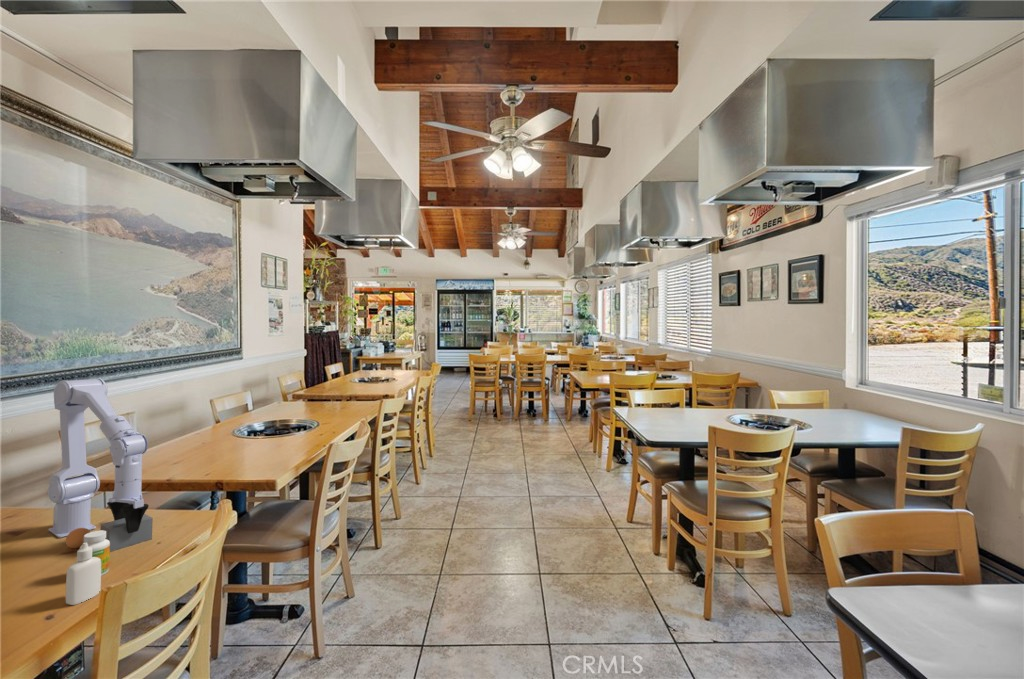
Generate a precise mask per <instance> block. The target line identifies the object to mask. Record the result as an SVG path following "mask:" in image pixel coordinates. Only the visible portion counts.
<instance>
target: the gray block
mask: <svg viewBox="0 0 1024 679" xmlns="http://www.w3.org/2000/svg"><path fill="white" fill-rule="evenodd" d="M153 522H154V521H153V517H151V516H150V515H148V514H146V513H144V515H143V517H142V520H141V523H140V527H139V530H138V531H136V532H133V533H128V532H127V527H126V521H125V518H123V519H119V520H115V521H114V520H111V521H107V522H104V523H100V529H99V531H100V530H104V531H106V538H105V539H107V540H109V541H110V553H111V552H114V551H117V550H121V549H124V548H128V547H130V546H134V545H137V544H141V543H144V542H147V541H150V540H152V539H153Z"/></svg>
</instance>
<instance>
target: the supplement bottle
mask: <svg viewBox="0 0 1024 679" xmlns="http://www.w3.org/2000/svg"><path fill="white" fill-rule="evenodd" d="M105 538H106V531H104V530H100V529H99V530H93V531H90V533H87V534H85V535H84V543H86V542H87V544H88V547H92V557H98V558H100V559H101V577H102V576H104V575H106V574H107V573H108V572H109V571H110V556H111V555H110V553H111V552H110V541H109V540H107V539H105ZM81 548H82V545H81V547H80V548H79V549H81Z"/></svg>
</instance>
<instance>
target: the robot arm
mask: <svg viewBox="0 0 1024 679" xmlns="http://www.w3.org/2000/svg"><path fill="white" fill-rule="evenodd" d="M108 390H109V389H108V386H107V383H106V382H105V380H103V379H102V378H100V377H98V378H93V379H75V380H74V379H73V380H67V379H66V380H64V379H63V380H60V381H59V382H58V383H57V384H56V385H55V387H54V388H53V404H54V409H55V410H58V411H59V423H60V424H59V425H60V426H59V427H60V443H61V444H60V446H61V448H60V449H61V464H62V465H61V466H62V467H60V468H59V470H57V471H56V472H54V473H53V474H52V475H51V476H50V477H49V483H48V484H49V485H48V488H47V497H48V499H49V500H50V501H51V502H53V504H55V505H54V507H53V517H52V518H53V519H52V520H53V522H52V523H53V524H52V527H49V528H48V531H49V532H50V533H52V534H53V535H54V536H56V537H58V538H64V537H65V538H66V537H67V536H68V534H69V533H70V532H71V531H73V530H75V529H78V528H86V529H88V530H89V531H92V530H94V529H96V528H97V526H95V525H94V524H92V523H91V515H92V514H91V511H92V509H91V507H92V506H91V505H92V498H94V497H95V494H96V493H97V492H98V491H99V489H100V486H101V480H100V478H99V474H98V471H97V468H95V467H93V466H91V465H88V464H87V463H88V462H87V447H86V445H87V444H86V429H85V426H86V425H85V424H86V423H85V411H86V410H87V409H88V408H89V409H90V410H91V411H92V413H93V414H94V415H95V416H96V417H97V419H98V420H99V421H100V422H101V423H100V424H99V429H100V431H101V432H102V434H104V436H105V437H106V439H107V441H108V442H109V443H110V447H109V453H110V455H111V457H112V465H113V466H114V490H113V491H112V497H110V498H108V501H107V503H106V504H107V506H108V507H109V509H110V511H111V514H112V516H113V521H115V520H119V519H123V518H125V521H126V527H127V532H128V533H133V532H136V531H138V530H139V527H140V523H141V520H142V517H143V515H144V514H146V512H147V510H148V509H149V504H148V503H144V502H145V499H144V498H143V492H142V486H143V485H142V483H143V482H142V481H143V480H142V479H143V454H145V453H147V451H148V449H149V441H148V439H147V437H146V435H145V434H143V433H140V432H139V431H135V430H134V428H133V427H132V425H131V424H130V422H128V420H127V419H126V418H125V416H123V415H119V414H117V413H116V410H114V407H113V406H112V403H111V402H110V400H109V398H108V397H107V395H108Z"/></svg>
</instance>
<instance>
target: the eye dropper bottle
mask: <svg viewBox="0 0 1024 679" xmlns="http://www.w3.org/2000/svg"><path fill="white" fill-rule="evenodd" d="M65 579H66V582H65V604H66V605H70V606H74V605H78V604H82V603H83V602H86V600H87V601H89V600H90V598H91V599H93V598H94V597H96V596H98V595H99V594H100V593H99V591H100V592H101V590H102V589H101V588H102V576H101V559H100V558H98V557H92V547H88V544H87V542H86V543H83V545H82V548H81V549H80V548H78V550H77V551H76V561H75V562H73V564H70V566H69V567H68V568H67V570H66V578H65ZM88 599H89V600H88ZM81 602H82V603H81Z"/></svg>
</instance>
